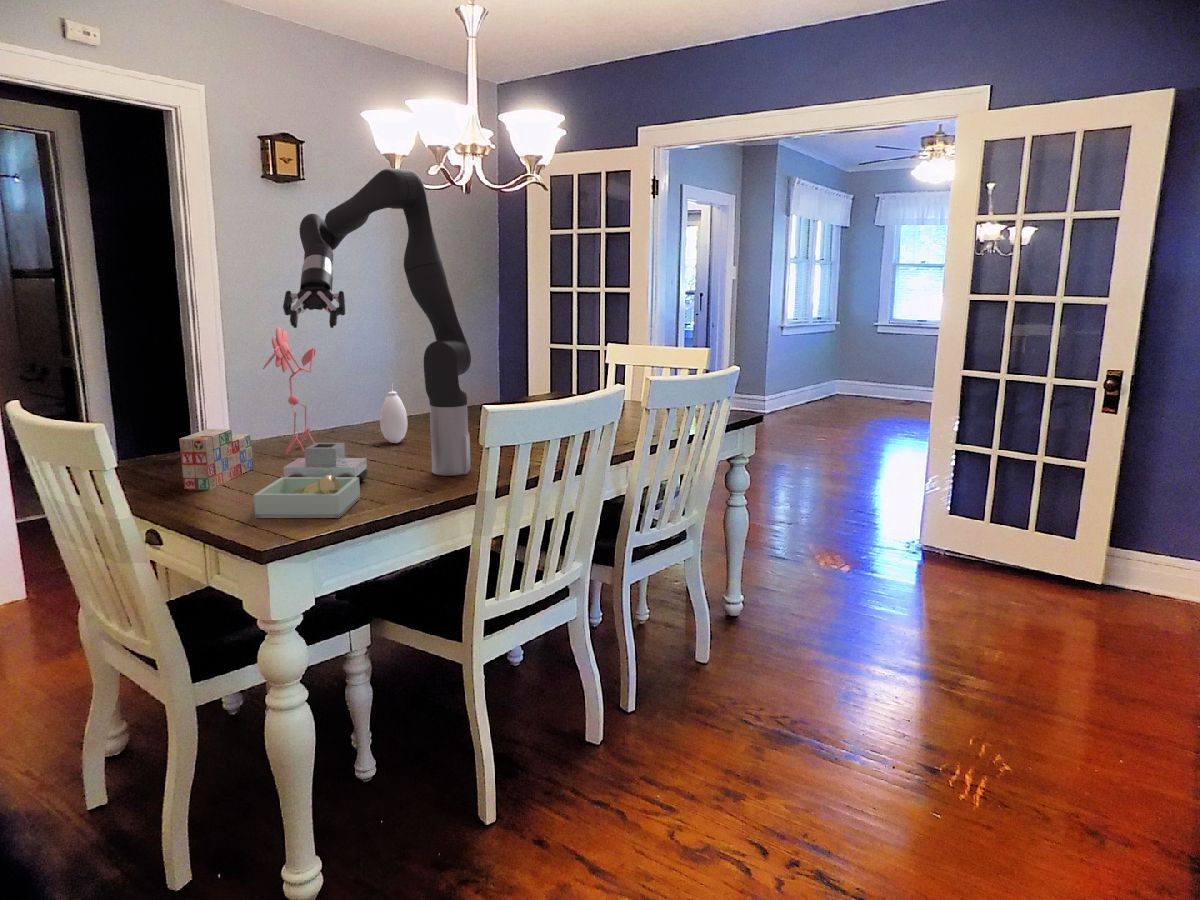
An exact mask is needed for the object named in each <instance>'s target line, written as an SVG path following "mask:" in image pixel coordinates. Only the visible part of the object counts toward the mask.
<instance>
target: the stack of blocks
mask: <svg viewBox="0 0 1200 900" xmlns="http://www.w3.org/2000/svg"><path fill="white" fill-rule="evenodd" d="M178 439H179V440H178V441H179V448H180V463H181V467H182V468H181V469H182V479H183V481H182V482H183V490H184V489H188V490H187V491H211V490H213V488H214V489H216V488H218V487H220V486H222V485H224V484H223V483H225V482H227V481H229V480H230V481H232V480H234V479H236V478H237V477H236V476H238V475H240V474H243V473H245V472H246V471H249V470H251V469H253V470H254V462H253V461H254V460H253V448H252V444H251V443H252V442H251V434H246V433H244V434H243V433H241V434H239V433H238V434H233V432H232V429H231V428H222V429H221V428H220V429H219V428H206V429H204V430H200V431H198V432H195V433H192V434H190V435H187V436H184V437H181V438H178ZM251 471H252V470H251ZM249 472H250V471H249ZM245 474H246V473H245ZM243 475H244V474H243ZM240 476H241V475H240ZM235 477H236V478H235ZM238 477H239V476H238ZM233 478H234V479H233ZM231 479H232V480H231ZM230 481H229V482H230ZM227 483H228V482H227ZM221 484H222V485H221ZM225 484H226V483H225ZM219 485H220V486H219ZM217 486H218V487H217ZM215 487H216V488H215Z"/></svg>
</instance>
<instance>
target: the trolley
mask: <svg viewBox="0 0 1200 900" xmlns="http://www.w3.org/2000/svg"><path fill="white" fill-rule="evenodd" d="M304 450H305V454H304V457H298V458H297V459H295V460H294V461H292V462H290V463H288V464H286V465H284V466H283V467H282V468H283V477H325V476H328V475H331V476H334V477H359V483H361V482H363V481H364V480H366V478H367V477H368V475H369V470H368V465H367V464H368V463H367V457H346V447H345V442H315V443H313V442H312V444H310V445H308V446H306V447H304Z"/></svg>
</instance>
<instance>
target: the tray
mask: <svg viewBox="0 0 1200 900" xmlns="http://www.w3.org/2000/svg"><path fill="white" fill-rule="evenodd" d="M321 478H322V477H284V476H283V477H280V478H278V479H276V480H275V481H273V482H271V483H270V484H269V485H267V486H266V487H264V488H262V489H260V490H259V491H257V492H256V493H253V504H254V505H253V506H254V507H253V508H254V516H255V518H254V519H256V518H340V517H341V516H342V515H343V514H344V513H345V512H347V511H348V510H349V509H350V508H351V507H352V506H353V505H354V504H355V503H356V502H357V501H358V500H359V501H361V489H360V482H359V477H335V478H336V479H337V480H338V482H339V491H338V492H336V493H335V494H293V492H294V491H295V490H297V489H299V488H302V487H305V486H308V485H311V484H314V483H317V482H319V480H320V479H321ZM359 501H358V502H359ZM358 502H357V503H358ZM357 503H356V504H357ZM356 504H355V505H356ZM355 505H354V506H355ZM354 506H353V507H354ZM353 507H352V508H353ZM352 508H351V509H352ZM351 509H350V510H351ZM350 510H349V511H350ZM349 511H348V512H349ZM348 512H347V513H348ZM345 514H346V513H345ZM345 514H344V515H345ZM344 515H343V516H344ZM343 516H342V517H343ZM342 517H341V518H342ZM341 518H340V519H341Z"/></svg>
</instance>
